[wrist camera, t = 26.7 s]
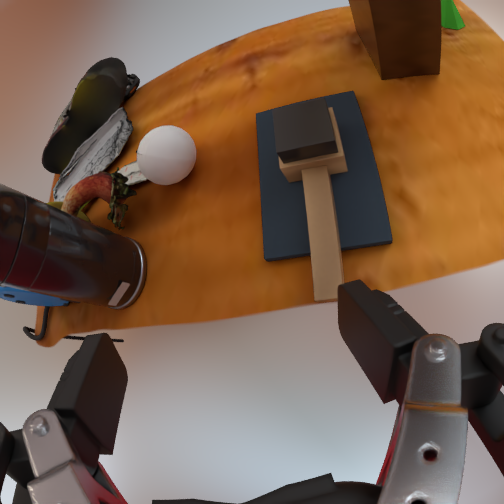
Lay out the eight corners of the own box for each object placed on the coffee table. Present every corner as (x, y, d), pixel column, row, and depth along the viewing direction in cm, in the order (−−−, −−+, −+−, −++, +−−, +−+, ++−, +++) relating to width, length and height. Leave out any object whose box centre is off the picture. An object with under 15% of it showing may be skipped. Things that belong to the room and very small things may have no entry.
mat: (267, 261, 30) (263, 259, 29) (258, 118, 35) (255, 113, 34) (392, 243, 25) (392, 240, 24) (354, 96, 30) (353, 90, 29)
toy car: (140, 75, 47) (148, 85, 50) (106, 64, 49) (114, 73, 53) (120, 98, 47) (130, 108, 50) (89, 85, 49) (98, 93, 53)
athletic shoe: (86, 39, 35) (117, 52, 47) (19, 151, 43) (54, 145, 54) (128, 72, 38) (156, 83, 49) (51, 189, 45) (85, 179, 57)
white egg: (148, 123, 28) (137, 190, 31) (211, 132, 32) (199, 193, 35) (133, 119, 35) (125, 171, 38) (184, 125, 39) (174, 174, 42)
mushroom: (56, 184, 26) (31, 277, 32) (149, 198, 36) (107, 276, 42) (49, 131, 31) (24, 215, 37) (123, 148, 41) (88, 221, 47)
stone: (55, 192, 50) (59, 227, 45) (43, 185, 47) (45, 220, 42) (131, 114, 48) (145, 141, 43) (121, 104, 45) (133, 129, 40)
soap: (165, 154, 40) (162, 150, 39) (158, 180, 38) (154, 176, 37) (119, 170, 44) (115, 167, 43) (111, 194, 42) (107, 191, 41)
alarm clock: (87, 263, 41) (3, 236, 28) (85, 304, 39) (-4, 285, 26) (48, 276, 45) (-22, 256, 32) (46, 309, 44) (-26, 295, 30)
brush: (298, 305, 26) (281, 299, 22) (283, 136, 31) (267, 108, 27) (366, 297, 24) (364, 290, 20) (337, 124, 29) (328, 93, 25)
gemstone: (442, 30, 27) (442, -1, 22) (422, 11, 29) (420, -18, 24) (472, 29, 25) (474, -1, 20) (451, 9, 27) (450, -19, 22)
